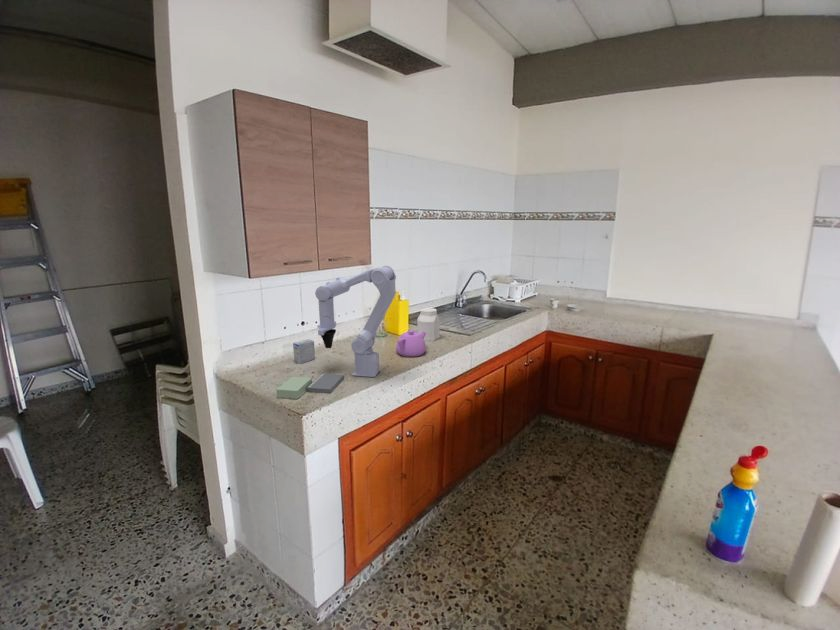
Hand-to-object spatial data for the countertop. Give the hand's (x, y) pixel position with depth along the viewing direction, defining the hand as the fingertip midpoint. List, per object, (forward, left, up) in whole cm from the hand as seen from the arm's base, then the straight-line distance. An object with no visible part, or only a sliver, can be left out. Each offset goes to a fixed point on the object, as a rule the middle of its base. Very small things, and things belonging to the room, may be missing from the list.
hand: (328, 347), depth 170 cm
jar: (-33, -52, -10) cm, 62 cm away
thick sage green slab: (+4, +23, -9) cm, 25 cm away
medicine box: (+15, -9, -10) cm, 20 cm away
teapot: (-29, -28, -10) cm, 41 cm away
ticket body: (-5, +15, -9) cm, 19 cm away
